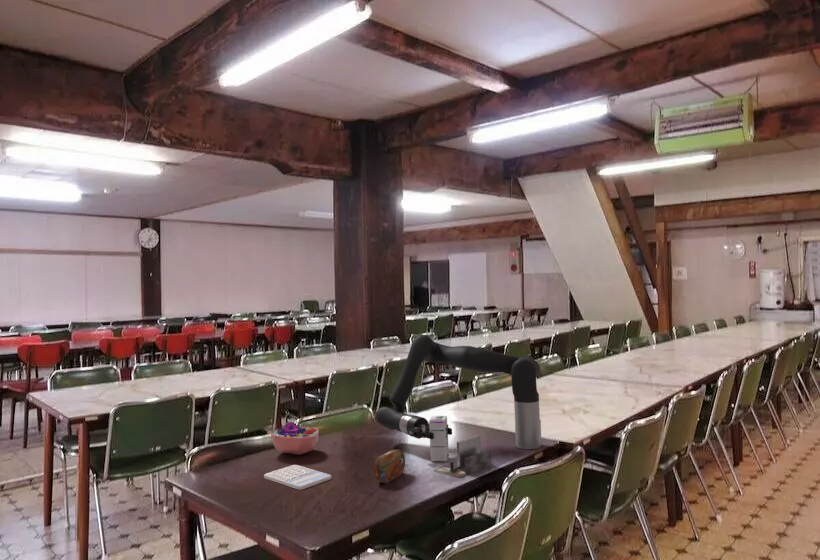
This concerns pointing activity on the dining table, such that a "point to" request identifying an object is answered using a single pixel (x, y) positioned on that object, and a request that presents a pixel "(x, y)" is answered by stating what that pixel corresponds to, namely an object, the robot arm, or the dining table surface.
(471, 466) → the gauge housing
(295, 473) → the calculator
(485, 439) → the dining table surface
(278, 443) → the cell model
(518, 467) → the dining table surface
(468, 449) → the gauge paddle
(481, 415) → the dining table surface
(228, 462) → the dining table surface
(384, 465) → the tin
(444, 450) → the syrup box
